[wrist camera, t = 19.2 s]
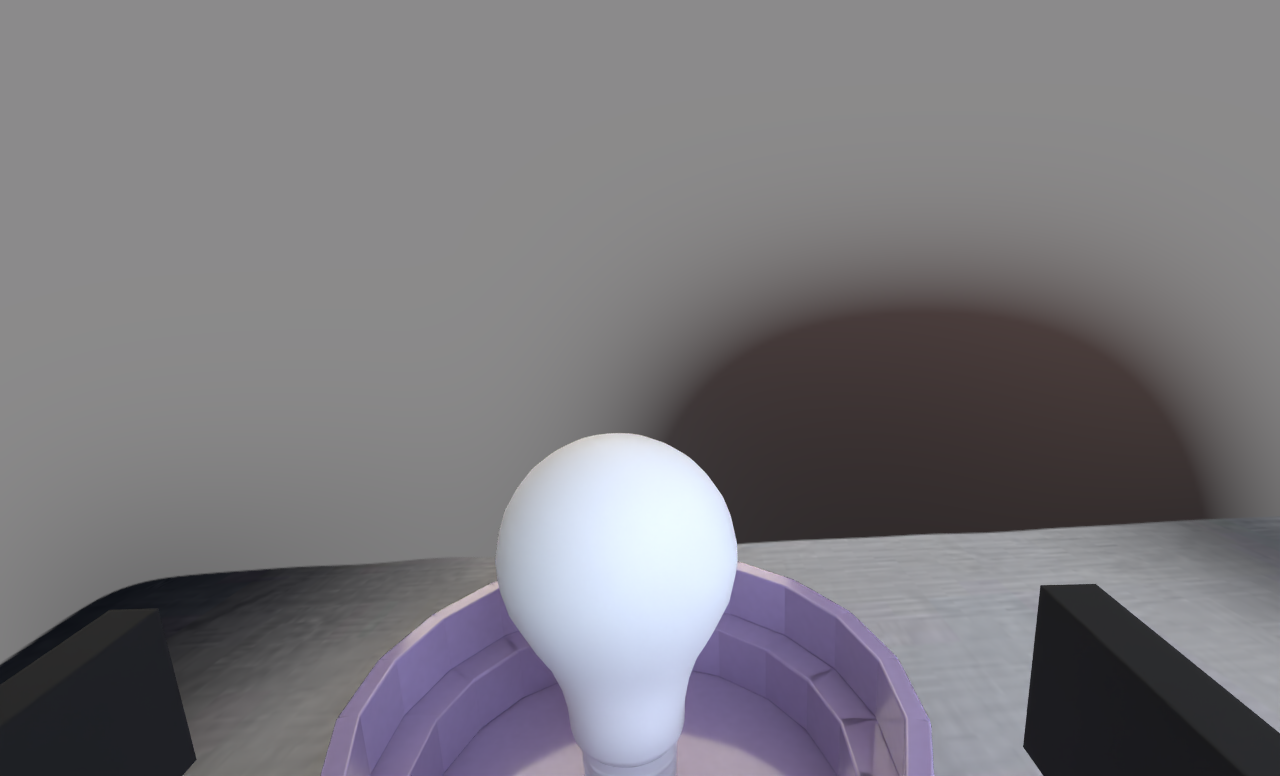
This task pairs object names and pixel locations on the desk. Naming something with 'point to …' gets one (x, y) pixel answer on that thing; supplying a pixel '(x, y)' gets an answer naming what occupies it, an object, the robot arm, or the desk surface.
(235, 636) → the desk surface
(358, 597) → the desk surface
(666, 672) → the lightbulb
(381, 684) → the bowl
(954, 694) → the desk surface
